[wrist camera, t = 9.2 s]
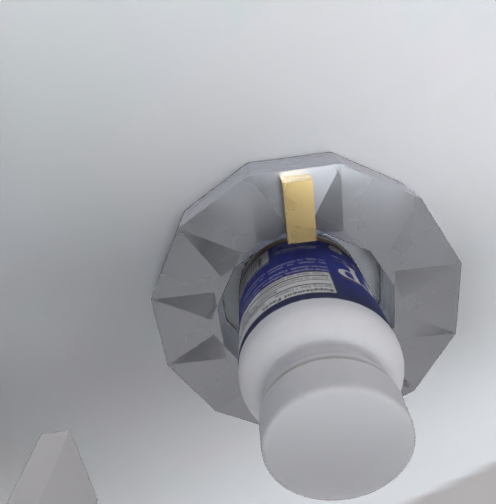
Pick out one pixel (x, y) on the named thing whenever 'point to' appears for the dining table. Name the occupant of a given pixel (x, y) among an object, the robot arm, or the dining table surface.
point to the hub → (297, 231)
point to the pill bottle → (321, 372)
